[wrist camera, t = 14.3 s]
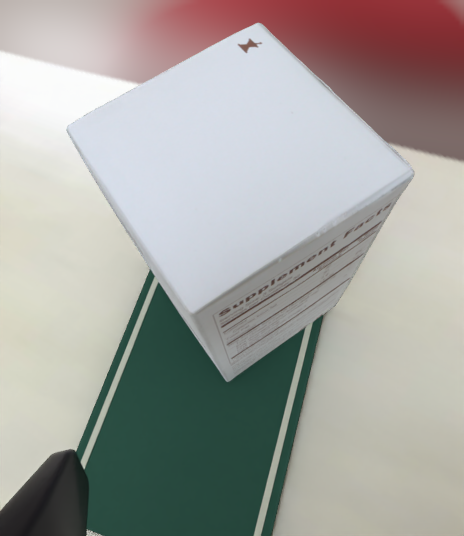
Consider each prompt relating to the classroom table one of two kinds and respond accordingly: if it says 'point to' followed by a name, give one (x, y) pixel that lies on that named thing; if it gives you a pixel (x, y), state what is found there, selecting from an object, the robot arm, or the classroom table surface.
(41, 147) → the classroom table surface
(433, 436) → the classroom table surface
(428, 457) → the classroom table surface
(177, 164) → the white packaging box
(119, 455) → the green mat
